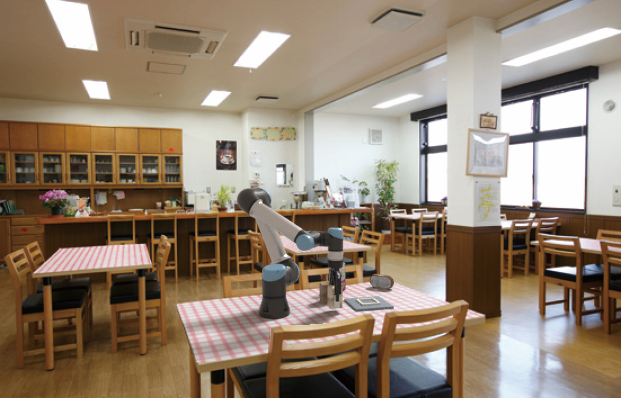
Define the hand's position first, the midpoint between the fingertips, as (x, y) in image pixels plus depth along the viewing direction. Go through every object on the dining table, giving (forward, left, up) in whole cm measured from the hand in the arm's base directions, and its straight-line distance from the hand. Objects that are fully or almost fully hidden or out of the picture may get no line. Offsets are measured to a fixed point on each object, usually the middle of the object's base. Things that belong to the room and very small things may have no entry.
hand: (334, 305), depth 201 cm
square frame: (+20, +8, -3) cm, 22 cm away
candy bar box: (+12, +38, -3) cm, 40 cm away
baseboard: (+20, +8, -3) cm, 22 cm away
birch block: (0, 0, 0) cm, 0 cm away
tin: (+40, +38, -3) cm, 55 cm away
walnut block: (0, +18, -3) cm, 18 cm away
